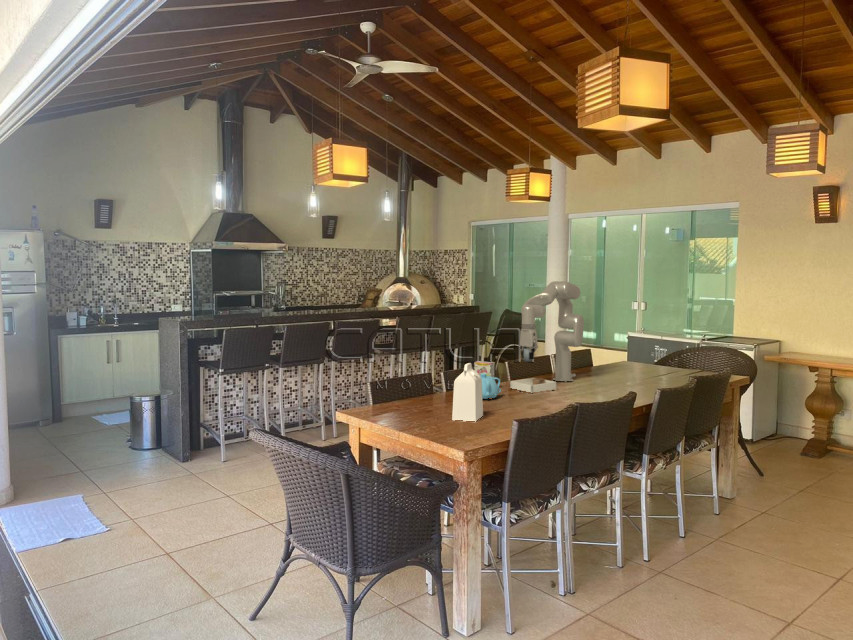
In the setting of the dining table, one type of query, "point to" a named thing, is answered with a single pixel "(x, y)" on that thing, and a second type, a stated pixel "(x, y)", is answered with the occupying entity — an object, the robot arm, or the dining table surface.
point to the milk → (467, 396)
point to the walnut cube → (538, 381)
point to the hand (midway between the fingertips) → (528, 358)
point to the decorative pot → (489, 386)
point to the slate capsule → (526, 354)
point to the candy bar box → (484, 368)
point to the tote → (529, 387)
